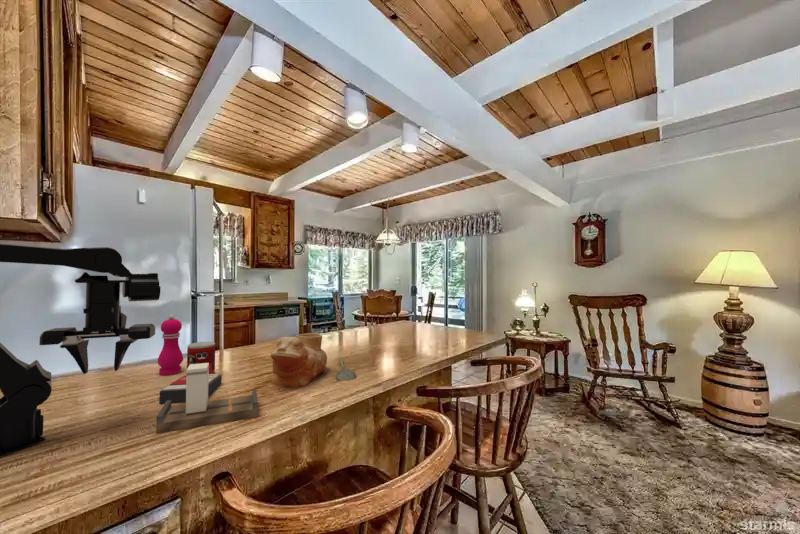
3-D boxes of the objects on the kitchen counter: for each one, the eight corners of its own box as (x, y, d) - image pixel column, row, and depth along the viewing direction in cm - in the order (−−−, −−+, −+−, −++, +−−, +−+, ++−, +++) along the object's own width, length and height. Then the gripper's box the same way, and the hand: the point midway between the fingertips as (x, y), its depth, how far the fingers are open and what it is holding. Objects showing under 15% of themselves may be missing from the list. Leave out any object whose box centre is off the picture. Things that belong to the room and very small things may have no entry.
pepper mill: (169, 376, 109) (171, 316, 110) (151, 375, 111) (153, 315, 111) (188, 370, 116) (189, 313, 117) (170, 369, 118) (172, 313, 118)
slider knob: (185, 414, 75) (186, 370, 75) (188, 405, 80) (189, 364, 80) (206, 411, 77) (206, 368, 77) (208, 403, 82) (209, 362, 82)
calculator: (222, 372, 104) (205, 385, 89) (221, 386, 103) (204, 402, 89) (183, 374, 101) (159, 388, 87) (182, 388, 101) (158, 405, 86)
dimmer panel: (156, 433, 71) (156, 416, 71) (166, 415, 80) (166, 400, 80) (257, 416, 79) (257, 402, 80) (256, 402, 88) (256, 388, 89)
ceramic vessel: (256, 389, 98) (257, 339, 98) (298, 365, 124) (299, 325, 124) (299, 393, 96) (300, 341, 96) (333, 367, 121) (334, 327, 122)
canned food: (180, 379, 106) (181, 345, 106) (202, 372, 114) (203, 340, 114) (199, 382, 104) (200, 347, 104) (220, 374, 112) (220, 342, 112)
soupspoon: (335, 384, 106) (356, 384, 108) (336, 374, 106) (357, 374, 108) (333, 364, 127) (350, 363, 129) (333, 355, 127) (350, 355, 129)
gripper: (161, 299, 86) (159, 359, 86) (65, 301, 78) (63, 367, 78) (149, 302, 76) (148, 370, 76) (39, 305, 68) (36, 381, 68)
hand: (101, 371), depth 75 cm, fingers open, 5 cm apart
